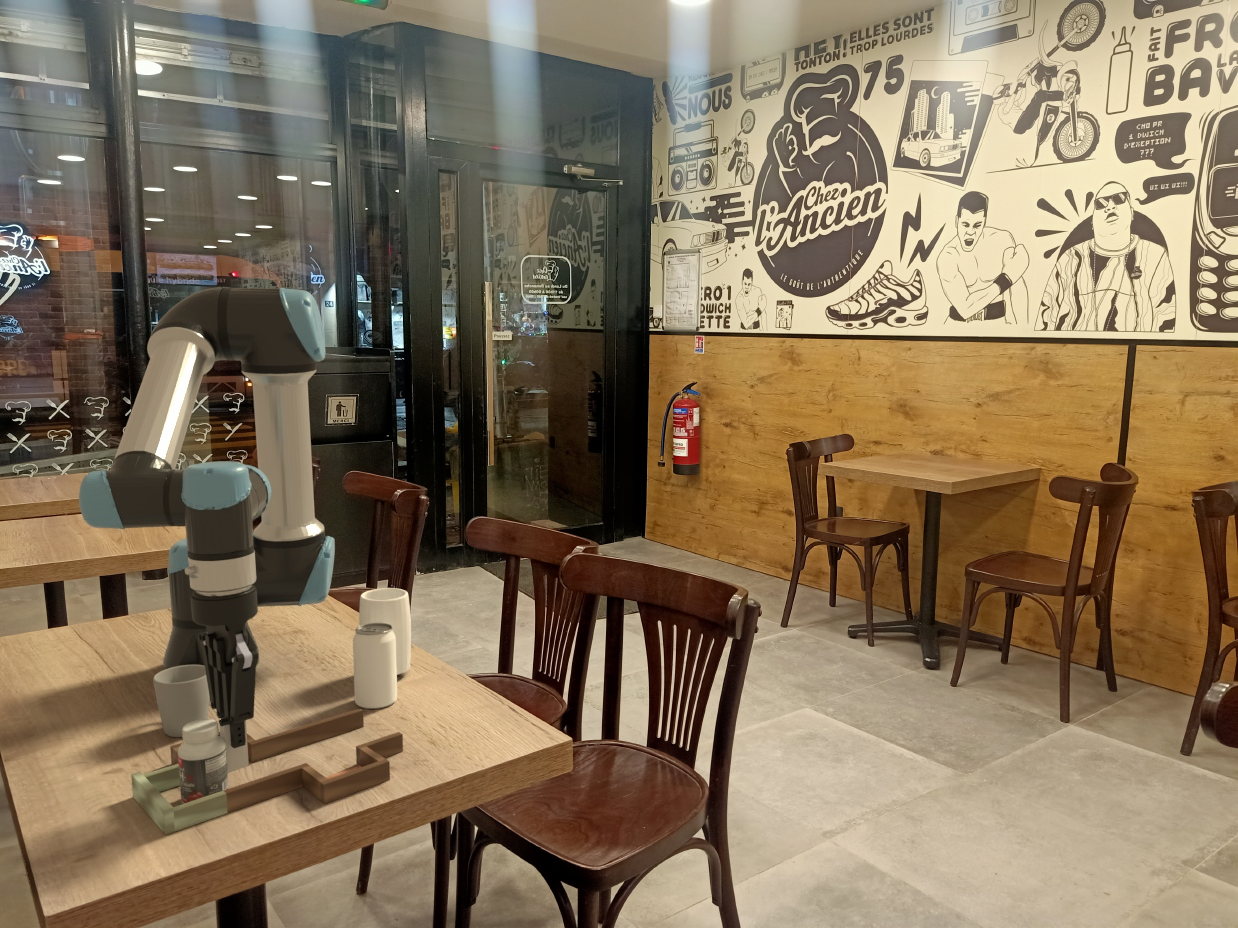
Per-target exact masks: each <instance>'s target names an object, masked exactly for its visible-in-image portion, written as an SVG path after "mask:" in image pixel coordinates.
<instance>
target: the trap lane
mask: <svg viewBox="0 0 1238 928" xmlns="http://www.w3.org/2000/svg"><path fill="white" fill-rule="evenodd" d="M360 728H364V710H363V709H362V708H357V709H354V710H349V711H347V712H344V713H340V714H337V715H334V716H330V717H327V718H324V719H321V720H317V721H315V722H311V723H308V724H304V725H301V726H298V727H294V728H292V729H287V730H285V731H281V732H278V733H275V734H271V735H267V736H265V737H261V738H259V739H255V738H253V737H252V736H251V735H249V733H247V746H248V761H250V762H251V763H255V762H257V761H260V760H261V761H262V760H264V759H267V758H270V757H273V756H276V755H280V754H282V753H286V752H289V751H292V750H295V749H299V748H302V747H305V746H309V745H311V744H313V743H317V742H320V741H323V740H326V739H329V738H332V737H335V736H338V735H341V734H344V733H348V732H351V731H354V730H358V729H360ZM218 736H220V731H219V734H218ZM403 737H404V736H403V733H401V732H400V731H397V732H395V733H391V734H388V735H385V736H382V737H380V738H379V737H378V738H376V739H374V740H373V739H372V740H370V741H368V742H364V743H360V744H359V745H356V746H355V757H356V759H355V761H356V766H355V767H352V768H349V769H346V770H343V771H340V772H337V773H334V774H332V775H329V776H326V777H325V776H324V775H323V774H322V773H321V772H319V771H318V770H317V769H315V768H314V767H312V766H311V765H310V764H309V763H308V762H305V763H302V764H298V765H296V766H292V767H290V768H287V769H284V770H281V771H277V772H275V773H272V774H269V775H267V776H262V777H260V778H257V779H252V780H251V781H247V782H245V783H242V784H239V785H236V786H233V787H230V788H228V789H227V790H224V791H221V792H218V793H215V794H212V795H209V796H206V797H203V798H200V799H197V800H194V801H191V802H188V803H185V804H182V803H181V804H180V805H176V806H173V805H172V804H171V803H170V802H169V801H168V800H167V798H165V796H163V794H162V793H161V792H164V791H167V790H170V789H174V788H176V787H180V775H179V761H178V749H179V747H180V745H181V744H182V743H183V742H180V743H175V744H172V745H170V760H171V761H170V762H171V765H170V766H166V767H163V768H160V769H157V770H152V771H150V772H147V773H142V772H141V771H138V772H133V773H131V774H130V775H131V776H130V777H131V789H132V798H133V799H134V800H135V801H136V802H137V804H138V805H140V807H141V808H142V810H144V811H145V813H146V814H147V815H148V816H149V817H150V819H151V820H152V821H153V822H154V823H155V824H156V825H157V827H158V828H159V829H160V830H161V832H163V834H165V835H169V834H173V833H175V832H179V831H181V830H183V829H186V828H189V827H191V826H196V825H198V824H200V823H203V822H206V821H209V820H213V819H214V818H218V817H220V816H223V815H227V814H228V813H232V812H234V811H237V810H240V809H242V808H243V809H244V808H245V807H249V806H252V805H255V804H257V803H260V802H263V801H266V800H269V799H271V798H274V797H277V796H280V795H282V794H286V793H288V792H292V791H295V790H297V789H299V788H304V789H306V790H307V791H308V792H309V793H311V794H312V795H313V796H314V797H316V798H317V799H318V800H319V801H321V802H322V803H323V804H328V803H330V802H333V801H336V800H339V799H342V798H344V797H345V798H346V796H347V797H348V796H350V795H353V794H355V793H358V792H361V791H364V790H366V789H369V788H371V787H373V786H374V787H375V786H376V785H379V784H382V783H385V782H388V781H391V776H390V775H391V769H390V768H391V765H390V760H388V759H386V758H388V757H391V756H393V755H396V754H399V753H403V752H404V743H403V742H404V739H403Z"/></svg>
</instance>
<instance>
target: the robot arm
mask: <svg viewBox="0 0 1238 928" xmlns="http://www.w3.org/2000/svg"><path fill="white" fill-rule="evenodd" d="M322 320H323V319H322V316H321V313H320V309H319V306H318V303H317V301H316V299H315V297H314V296H313V294H311V293H310V292H309V291H307V290H304V289H293V288H285V287H280V288H277V287H274V288H272V287H271V288H268V287H267V288H266V287H264V288H258V287H257V288H251V287H250V288H245V287H243V288H241V287H240V288H239V287H237V288H236V287H230V288H229V287H227V288H226V287H211V288H206V289H202V290H200V291H196V292H195V293H191V294H190V295H188V296H186V297H185V298H182V299H181V300H180V301H179V302H178V303H176V304H175V305H173V306H172V307H171V308H170V309H169V310H168V311H167V312H166V313H165V314H163V316H162V317H161V318H160V319H159V320H158V322H157V324H156V325H154V328H153V330H152V332H151V334H150V337H149V339H148V342H147V346H146V347H147V348H146V349H147V354H148V357H149V361H148V364H147V366H146V370H145V372H144V374H143V375H144V376H143V377H142V382H141V383H140V387H139V390H138V392H137V395H136V398H135V401H134V404H133V406H132V408H131V412H130V414H129V418H128V420H127V423H126V426H125V428H124V430H123V434H122V436H121V439H120V442H119V444H118V448H117V450H116V453H115V456H114V459H113V462H112V464H111V467H110V469H109V470H108V469H104V468H103V469H101V470H93V471H90V472H88V473H87V474H85V475H84V476H83V479H82V481H81V483H80V487H79V493H78V501H79V502H78V504H79V510H80V513H81V515H82V518H83V520H84V522H85V523H86V524H88V525H89V526H90V527H91V528H99V529H116V530H118V529H119V530H125V529H136V528H137V529H139V528H140V529H141V528H143V529H144V528H162V527H163V528H164V527H179V528H180V527H185V535H186V536H185V537H186V538H183V539H181V540H178V541H176V542H175V543H173V544H172V546H170V549H168V569H167V574H168V582H169V584H168V585H169V595H170V597H169V598H170V607H171V608H170V609H171V611H170V612H171V622H172V623H171V624H172V625H171V626H172V628H171V632H170V636H169V639H168V643H167V646H166V649H165V652H164V656H163V660H162V661H163V662H162V664H163V665H162V666H163V670H165V669H168V668H172V667H177V666H183V665H203V666H205V671H206V677H207V684H208V690H209V696H210V699H209V704H210V707H211V709H212V710H215V711H216V716H217V718H218V725H219V732H220V737H222V738H223V739H224V740H225V743H226V755H227V770H228V774H229V773H232V772H235V771H239V770H241V769H243V768H244V769H245V768H246V767H249V766H250V765H249V763H250V762H249V759H248V746H247V734H248V733H247V731H248V730H247V720H252V719H253V718H254V715H255V697H256V696H255V695H256V694H255V693H256V675H257V674H256V673H257V671H256V669H257V666H258V664H259V663H260V650H259V647H258V645H257V641H256V639H255V637H254V635H253V633H252V630H251V628H250V625H249V623H248V621H249V620H252V619H253V618H254V617H256V615H257V614H258V612H259V610H258V609H259V608H261V607H264V608H265V607H282V606H283V607H288V606H289V607H291V606H292V607H293V606H298V607H302V606H306V605H315V604H321V603H323V602H324V601H325V600H326V599H327V598H328V595H329V593H330V589H331V588H330V587H331V583H332V577H333V572H334V562H335V555H336V554H335V552H336V551H335V550H336V545H335V544H336V542H335V538H334V537H332V536H329V535H327V536H326V532H325V525H324V524H323V523H322V522H321V521H319V520H318V519H317V518H316V516H315V515H316V514H315V499H314V498H315V495H314V480H313V479H314V478H313V461H312V460H313V459H312V442H311V440H312V439H311V423H310V407H309V405H310V404H309V385H308V382H309V381H310V379H311V378H312V376H313V375H314V374H316V372H317V362H318V363H319V362H321V361H323V360H325V358H326V345H325V344H326V338H325V332H324V326H323V321H322ZM218 361H219V362H220V361H240V363H241V364H240V367H241V373H242V374H243V375H244V377H246V378H248V379H249V380H250V381H251V383H252V393H253V395H252V396H253V409H254V421H255V422H254V424H255V425H254V426H255V440H256V451H257V452H256V453H257V454H256V455H257V467H255V466H254V465H253V466H252V465H250V464H244V463H243V462H239V461H227V460H226V461H223V460H222V461H208V462H207V461H206V462H200V463H196V464H191V465H188V466H187V467H185V468H184V469H176V467H177V465H178V464H177V463H178V461H179V457H180V454H181V451H182V446H183V445H184V441H185V437H186V434H187V431H188V426H189V423H190V420H191V417H192V414H193V411H194V407H195V403H196V400H197V397H198V393H199V390H200V387H201V384H202V381H203V376H204V375H206V374H207V373H208V372H210V370H212V368H213V366H214V364H215V362H218ZM259 517H261V522H260V523H259V524H258V525H257V526H255V528H254V527H253V521H255V520H256V519H258V518H259ZM253 528H254V530H253ZM258 607H259V608H258Z"/></svg>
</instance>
